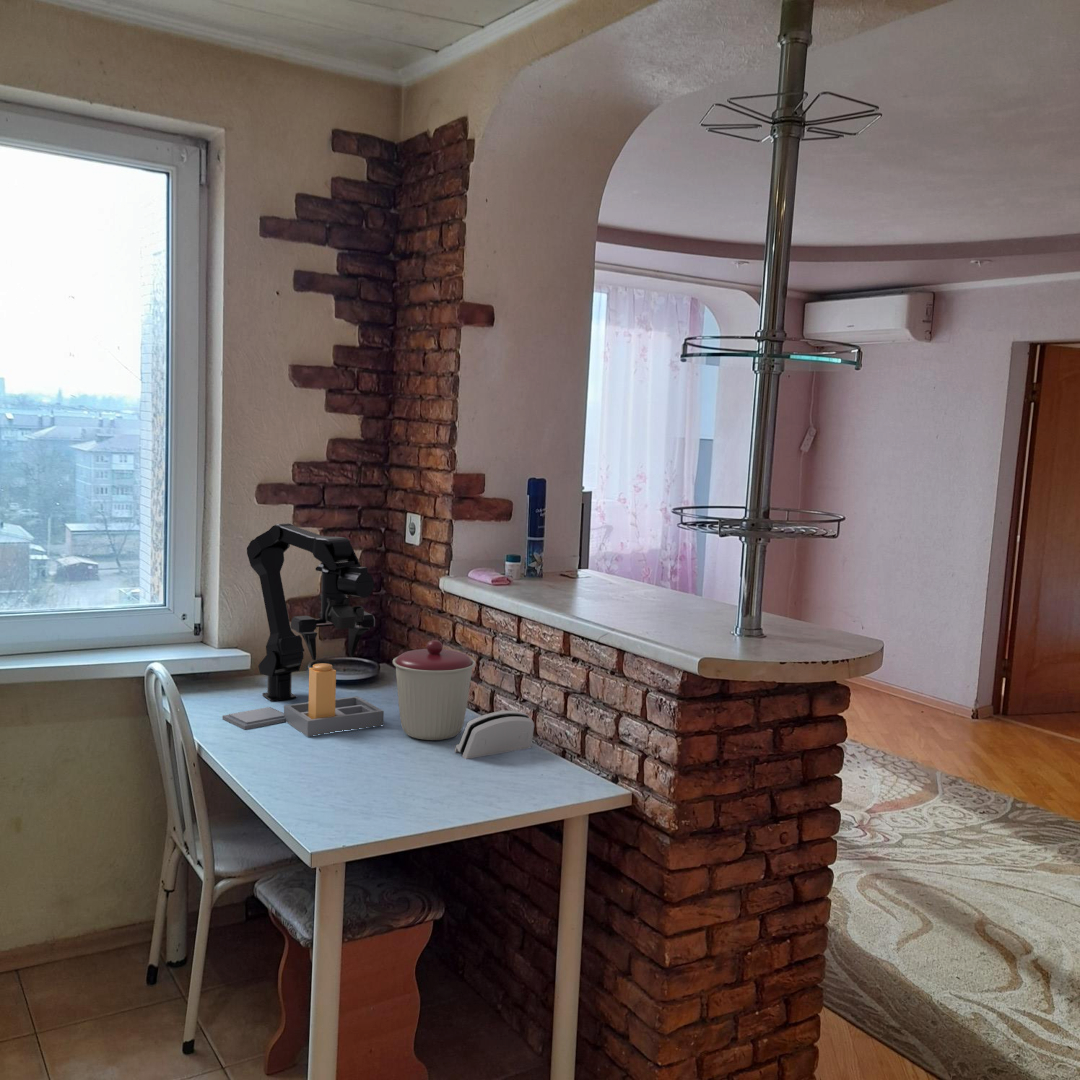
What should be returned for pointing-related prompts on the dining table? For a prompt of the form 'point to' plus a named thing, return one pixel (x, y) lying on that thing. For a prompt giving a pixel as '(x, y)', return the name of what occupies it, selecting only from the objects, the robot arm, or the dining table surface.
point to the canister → (433, 691)
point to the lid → (255, 718)
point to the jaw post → (322, 691)
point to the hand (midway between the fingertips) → (332, 658)
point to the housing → (346, 716)
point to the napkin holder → (496, 734)
